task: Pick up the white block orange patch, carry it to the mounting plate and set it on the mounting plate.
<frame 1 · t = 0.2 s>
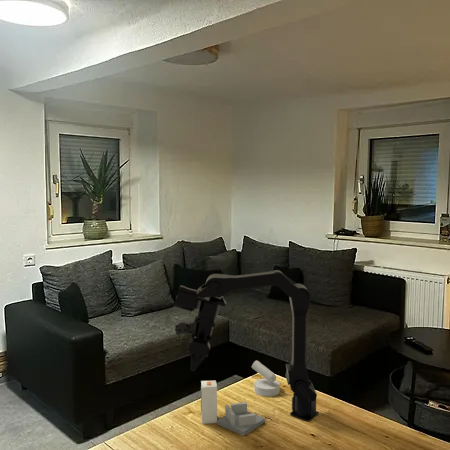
hand: (193, 364, 139), 16 cm above the table, tool tilted 15°, fingers open, 9 cm apart
white block orange patch: (209, 419, 138), on the table
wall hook: (265, 390, 157), on the table
mounting plate: (240, 423, 135), on the table
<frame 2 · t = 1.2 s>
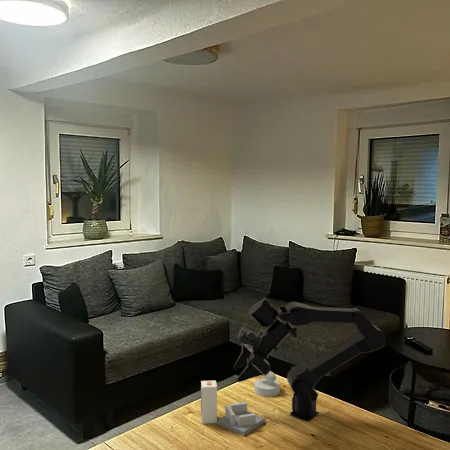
hand: (236, 374, 137), 13 cm above the table, tool tilted 45°, fingers open, 9 cm apart
nothing on the table moved.
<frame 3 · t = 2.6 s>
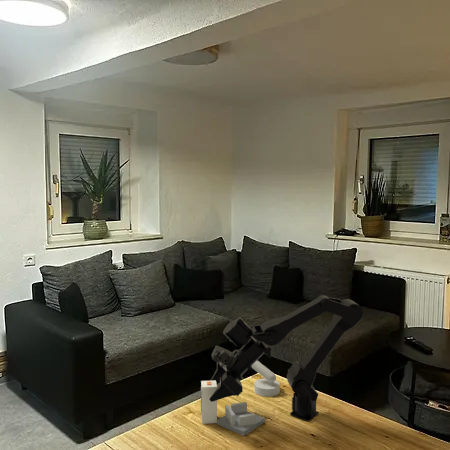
hand: (209, 393, 137), 8 cm above the table, tool tilted 45°, fingers open, 9 cm apart
nothing on the table moved.
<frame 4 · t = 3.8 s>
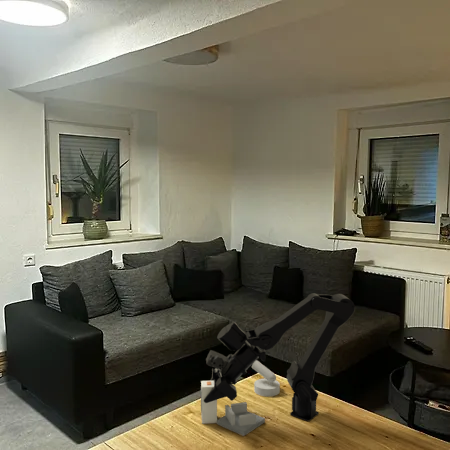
hand: (204, 398, 137), 7 cm above the table, tool tilted 45°, fingers closed on white block orange patch, 4 cm apart
white block orange patch: (209, 419, 138), on the table, touching gripper
everything else where it was.
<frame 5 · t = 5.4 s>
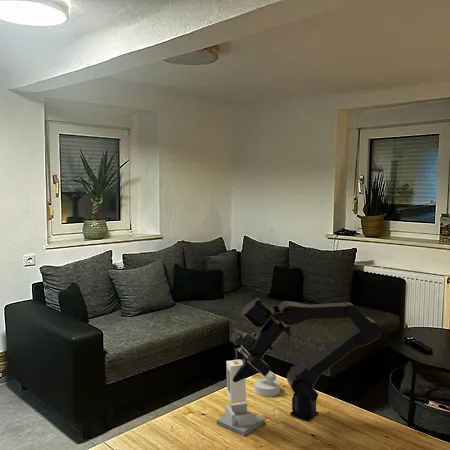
hand: (231, 378, 135), 13 cm above the table, tool tilted 45°, fingers closed on white block orange patch, 4 cm apart
white block orange patch: (236, 399, 136), point 7 cm above the table, touching gripper
everything else where it was.
when the fingers open (8 cm above the table, at t = 7.2 s): white block orange patch stays where it is, resting on mounting plate.
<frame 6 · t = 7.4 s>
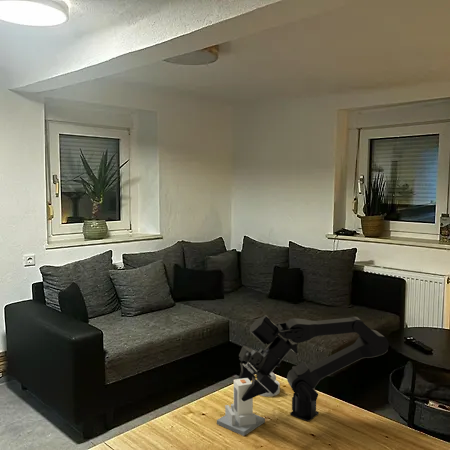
hand: (238, 395, 135), 8 cm above the table, tool tilted 45°, fingers open, 7 cm apart
white block orange patch: (243, 417, 136), point 1 cm above the table, touching mounting plate
everything else where it was.
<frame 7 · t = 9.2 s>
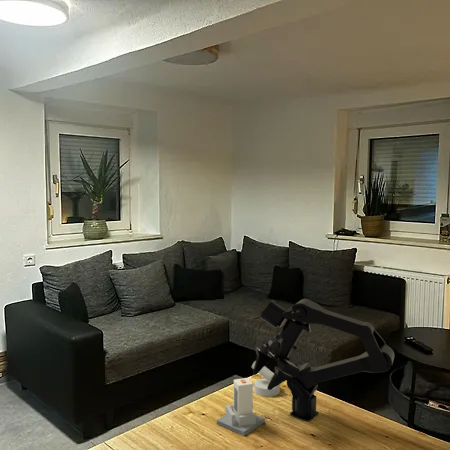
hand: (261, 381, 139), 11 cm above the table, tool tilted 35°, fingers open, 9 cm apart
nothing on the table moved.
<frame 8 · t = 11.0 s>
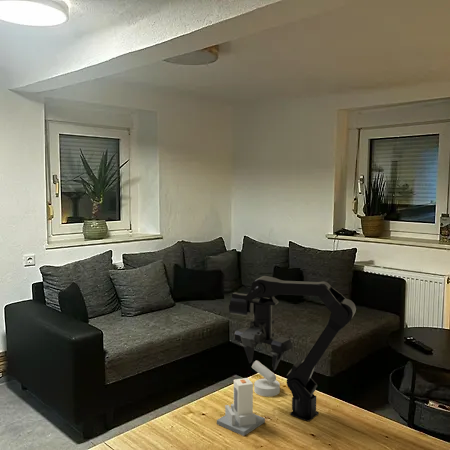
hand: (262, 366, 145), 13 cm above the table, tool pointing down, fingers open, 9 cm apart
nothing on the table moved.
at the end: white block orange patch 0.0 cm from the target spot on the mounting plate, point 1.2 cm above the mounting plate's base; white block orange patch tilted 0°; the gripper is holding nothing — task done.
